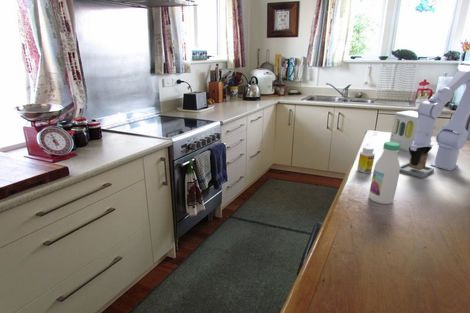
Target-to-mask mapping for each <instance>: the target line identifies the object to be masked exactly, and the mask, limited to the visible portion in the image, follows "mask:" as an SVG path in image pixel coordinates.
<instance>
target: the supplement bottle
mask: <svg viewBox="0 0 470 313" xmlns="http://www.w3.org/2000/svg"><path fill="white" fill-rule="evenodd" d="M375 157H376V156H375V152H374V147H372V146H369V145H365V146H363V148H362V150H361V151H360V152H359V157H358V163H357V169H356V170H357V171H358V172H359V173H364V174H370V173H371V172H373V171H372V170H373V166H374V160H375Z"/></svg>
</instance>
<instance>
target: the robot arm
mask: <svg viewBox="0 0 470 313" xmlns="http://www.w3.org/2000/svg"><path fill="white" fill-rule="evenodd" d="M456 68H457V69H456V73H455V75H454V76H453V77H452V78H451V79H450V81H449V82H448V83H447V84H446V85H445V86H444V87H440V88H439V89H437V91H436V92H435V93H434V94H432V96H431V97H430V98H429V99H428V100H425V101H423V102H421V103H420V104H419V105H418V107H417V109H416V110H417V111H416V112H418V119H419V121H418V125H417V129H416V134H415V138H414V141H413V144H412V145H411V147H409V151H410V152H409V151H408V152H409V154H410V159H411V165H415V166H417V165H418V163H419V160H420V158H421V156H422V154H423V153H425V154H429V152H430V151H431V150H432V149H433V146H434V144H433V143H432V136H433V133H434V128H435V125H436V124H435V123H436V120H437V118H438V117H440V115H441V114H442V112H443V110H444V108H445V106H446V105H447V103H449V102H450V101H451V100H452V98H453V97H454V94H453V93H454V92H456V91H457V90H458V89H459V88H460V87H461V86H463V85H464V84H465V89H464V91H463V94H462V96H461V98H460V100H459V103H458V105H457V106H456V109H455V111H454V113H453V116H452V118H451V120H450V122H449V123H447V124H444V125H442V127H441V129H440V130H439V131H438V132H437V133H436V137H435V140H436V143H437V146H438V148H437V151H436V152H437V153H436V156H435V159H434V162H432V163H430V166H432V167H435V168H439V169H442V170H443V169H444V170H447V171H450V172H451V171H452V170H454V169H456V168H457V167H459V164H458V163H457V162H458V158H459V155H460V150H461V149H462V148H464V147H465V145H466V144H467V140H468V136H469V132H468V130H467V129H466V128H465V126H466V123H467V122H468V119H469V117H470V61H469V60H468V61H467V60H464V61H462V62H461V63H460V64H459V65H458V66H457V67H456Z"/></svg>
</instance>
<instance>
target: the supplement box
mask: <svg viewBox="0 0 470 313" xmlns="http://www.w3.org/2000/svg"><path fill="white" fill-rule="evenodd" d="M418 121H419V119H418V112H417V111H415V110H403V111H397V112H394V118H393V122H392V127H391V128H392V129H391V133H390V138H389V142H395V143H398V144H399V145H400V148H399V150H402V151H403V150H404V151H406V152H409V153H410V151H409V147H411V145H412V144H413V141H414V138H415V134H416V129H417V125H418Z"/></svg>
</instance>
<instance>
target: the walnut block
mask: <svg viewBox="0 0 470 313" xmlns="http://www.w3.org/2000/svg"><path fill="white" fill-rule="evenodd" d="M428 155H429V153H427V154H425V153H423V154H422V156H421V158H420V160H419V163H418V165H417V166H415V165H411V158H410V159H409V162H410V163H409V167H411V168H414V169H417V170H422V169H423V168H425V166H426V164H427V161H428Z"/></svg>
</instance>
